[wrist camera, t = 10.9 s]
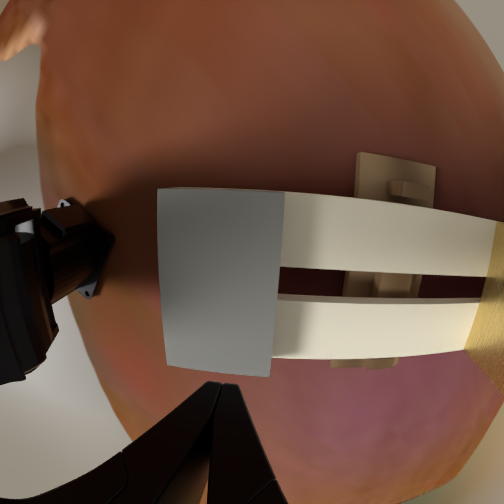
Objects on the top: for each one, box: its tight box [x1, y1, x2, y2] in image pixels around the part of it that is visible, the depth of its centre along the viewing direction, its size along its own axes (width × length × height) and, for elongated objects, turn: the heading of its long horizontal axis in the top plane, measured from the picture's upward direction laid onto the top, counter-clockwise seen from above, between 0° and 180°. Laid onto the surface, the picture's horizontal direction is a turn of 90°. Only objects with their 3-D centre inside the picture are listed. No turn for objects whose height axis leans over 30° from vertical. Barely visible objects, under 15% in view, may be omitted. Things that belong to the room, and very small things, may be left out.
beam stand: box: [329, 152, 436, 370], centre depth 17 cm, size 6×16×4 cm, turn 177°
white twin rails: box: [157, 187, 503, 377], centre depth 14 cm, size 32×10×3 cm, turn 87°
